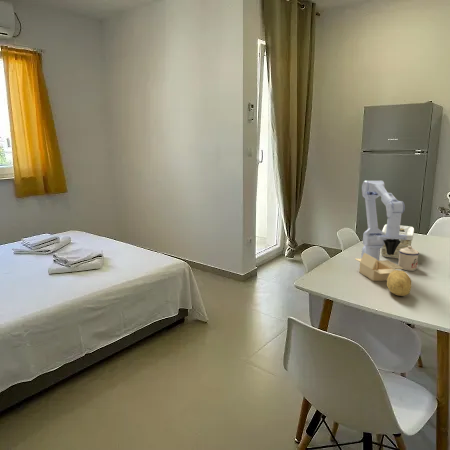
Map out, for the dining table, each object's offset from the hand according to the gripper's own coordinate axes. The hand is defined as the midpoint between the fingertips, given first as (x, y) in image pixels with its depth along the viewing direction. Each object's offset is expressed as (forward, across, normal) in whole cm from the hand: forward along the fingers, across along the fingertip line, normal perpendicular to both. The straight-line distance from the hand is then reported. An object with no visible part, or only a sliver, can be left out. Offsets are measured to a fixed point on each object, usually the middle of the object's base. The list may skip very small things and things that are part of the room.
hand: (390, 254), depth 174 cm
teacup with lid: (+11, +17, +8) cm, 22 cm away
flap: (+3, -11, 0) cm, 11 cm away
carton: (+10, -5, 0) cm, 11 cm away
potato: (+11, -10, -22) cm, 26 cm away
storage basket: (+11, +26, +32) cm, 43 cm away
